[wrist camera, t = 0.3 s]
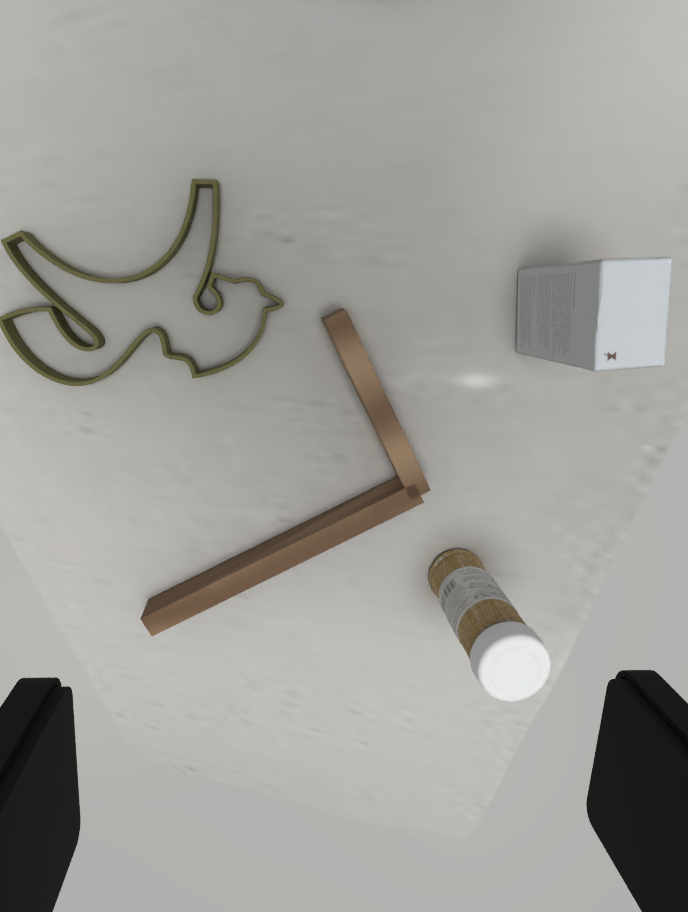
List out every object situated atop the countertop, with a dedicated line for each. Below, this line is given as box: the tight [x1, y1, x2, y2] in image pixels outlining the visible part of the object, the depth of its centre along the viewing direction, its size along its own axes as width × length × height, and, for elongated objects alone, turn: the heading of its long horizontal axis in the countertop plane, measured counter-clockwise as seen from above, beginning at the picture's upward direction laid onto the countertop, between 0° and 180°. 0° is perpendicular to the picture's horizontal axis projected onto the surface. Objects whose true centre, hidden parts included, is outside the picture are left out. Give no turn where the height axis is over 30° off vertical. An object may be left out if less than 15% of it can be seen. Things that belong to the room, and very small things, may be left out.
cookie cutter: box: [0, 179, 284, 386], centre depth 42 cm, size 18×12×2 cm, turn 105°
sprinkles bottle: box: [429, 549, 551, 701], centre depth 44 cm, size 5×5×13 cm
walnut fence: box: [141, 308, 430, 636], centre depth 45 cm, size 15×23×3 cm, turn 116°
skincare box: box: [516, 257, 672, 372], centre depth 40 cm, size 6×4×12 cm
